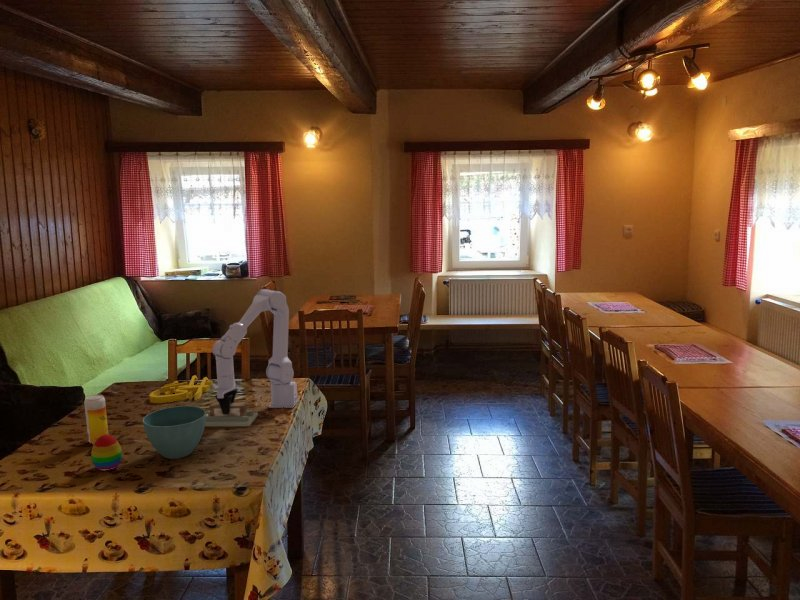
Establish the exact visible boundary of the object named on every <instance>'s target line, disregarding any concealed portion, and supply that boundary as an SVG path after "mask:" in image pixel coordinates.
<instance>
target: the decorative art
mask: <svg viewBox="0 0 800 600" xmlns="http://www.w3.org/2000/svg"><path fill="white" fill-rule="evenodd" d="M191 380H192V381H191ZM195 380H198V381H199V379H198V377H197V374H194V375H192V376H191V379H190V381H189V383H188V381H186V382H181V383H179V381H177V380H176V381H172V383H169V384H163V386H161V387H160V388H159V389H158V388H157V389H156V390H155V389H154V391H152V392H150V393H149V402H150V403H151V404H167V402H168V403H173V402H174V401H175V402H179V401H184V400H187V399H188V400H190V399H191V400H192V399H193V398H194V401H195V400H196V401H197V399H198V400H199V399H201V397H202V395H203V394H204V393H205V392H207V391H209V390H210V391H211V387H210V385H214V384H213V381H214V380H209V378H208V377H207V376H205V377H203V378H202V380H201V382H198V383H197V384H196V383H195V385H194V382H195ZM203 380H206V381H203ZM210 391H209V392H210ZM161 393H163V394H164V395H161ZM173 393H175V394H173ZM207 393H208V392H207ZM205 394H206V393H205ZM158 395H159V396H158Z"/></svg>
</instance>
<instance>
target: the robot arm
mask: <svg viewBox="0 0 800 600" xmlns="http://www.w3.org/2000/svg"><path fill="white" fill-rule="evenodd" d="M266 311H270V313H272V314H273V331H272V332H273V333H272V334H273V335H272V356H271V357H270V358H269V359H268V362H267V363H268V365H267V367H266V368H265V369H266V370H265V374H266V377H267V378H268V379H269V382H270V393H271V394H270V396H271V402H270V404H269V406H268V409H269V408H270V409H271V408H272V409H279V408H280V409H281V408H282V409H292V408H293V407H294V406H297V405H296V404H297V403H298V402H299V400H298V387H297V382H296V381H292V380H293V378H294V376H295V375H294V374H295V372H294V369H293V363H292V361H291V359H290V358H289V357H288V354H289V352H288V350H289V348H288V347H289V329H290V328H289V326H290V325H289V323H290V308H289V306H288V303H287V296H286V295H285V294H284V293H283V292H282V291H279V290H272V289H271V290H270V289H266V288H262V289H260V290H259V291H257V294H255V296H253V299H252V303H251V304H250V306H249V307H248V308H247V310H246V312H244V314H243V315H242V316H241V319H239V321H238V322H234V323H233V324H230V325H229V327H228V328H229V329H228V330H227V331H226V332H225V334H223V335H222V336H221V337H220V339H219V340H217V341H215V342H214V343H213V347H212V348H211V351H212V352H211V353H212V354H213V355H214V356H215V364H216V380H217V381H216V382H217V385H215V386H214V390H217V392H216V395H215V400H216V401H217V403H219V404H220V407H221V410H222V413H223V414H229V412H230V403H235V399H236V396H237V393H238V390H239V389H238V388H236V380H235V372H234V371H235V369H234V356H235V355H236V353H237V348H238V345H239V344H240V342H241V341H242V340H243V339H244V337H245V336H246V335H247V333H248V327H249V326H250V325H251V324H252V322H254V321H255V319H256V318H258V316H259V315H260V313H262V312H266ZM297 401H298V402H297ZM283 407H284V408H283ZM294 408H295V407H294Z"/></svg>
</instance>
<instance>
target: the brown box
mask: <svg viewBox="0 0 800 600" xmlns="http://www.w3.org/2000/svg"><path fill="white" fill-rule="evenodd" d="M247 410H248V409H247V402H234V403H230V412H229V414H223V413H222V410H221V407H220V404H219V402H212V403H211V404H210V405H209V411H210V416H247Z"/></svg>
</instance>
